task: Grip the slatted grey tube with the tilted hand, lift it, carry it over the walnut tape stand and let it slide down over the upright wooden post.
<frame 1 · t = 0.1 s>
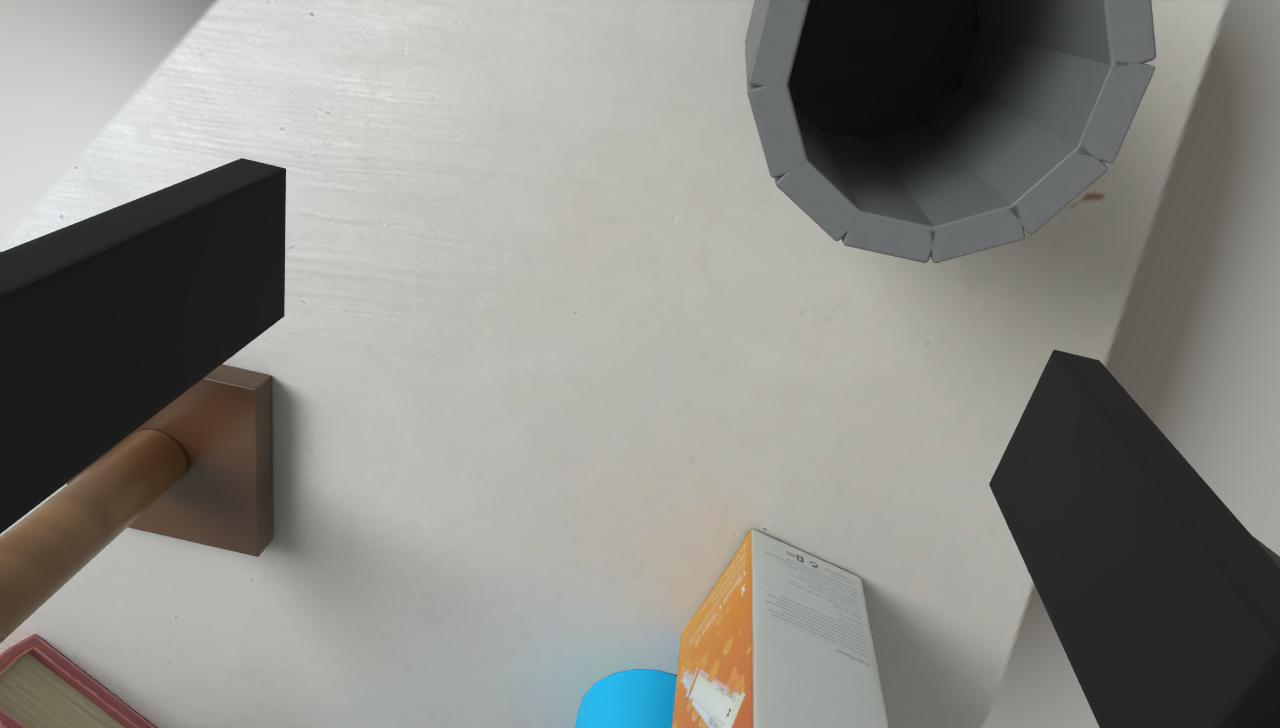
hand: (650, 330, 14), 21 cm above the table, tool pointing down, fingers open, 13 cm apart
tape stand: (176, 440, 42), on the table
slatted grey tube: (874, 37, 31), on the table
small box: (767, 602, 43), on the table
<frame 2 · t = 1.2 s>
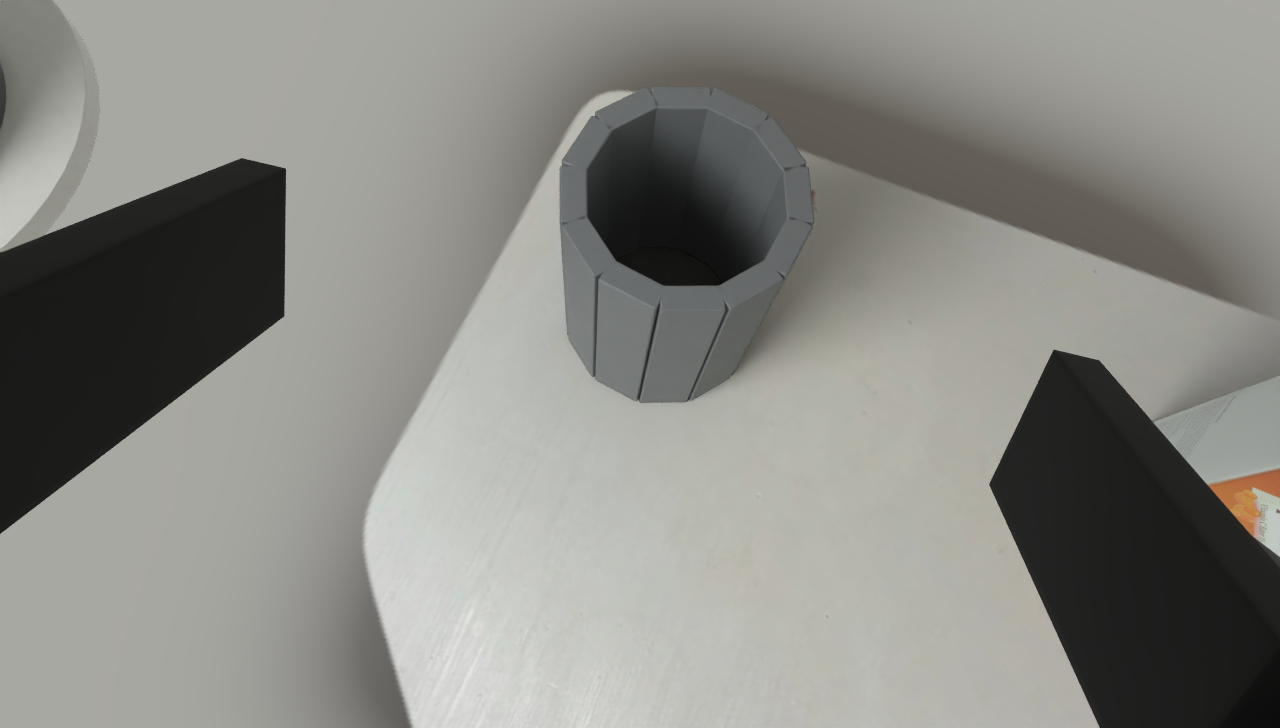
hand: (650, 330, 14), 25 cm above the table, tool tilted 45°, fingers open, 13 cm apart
slatted grey tube: (659, 313, 42), on the table
small box: (1183, 523, 40), on the table
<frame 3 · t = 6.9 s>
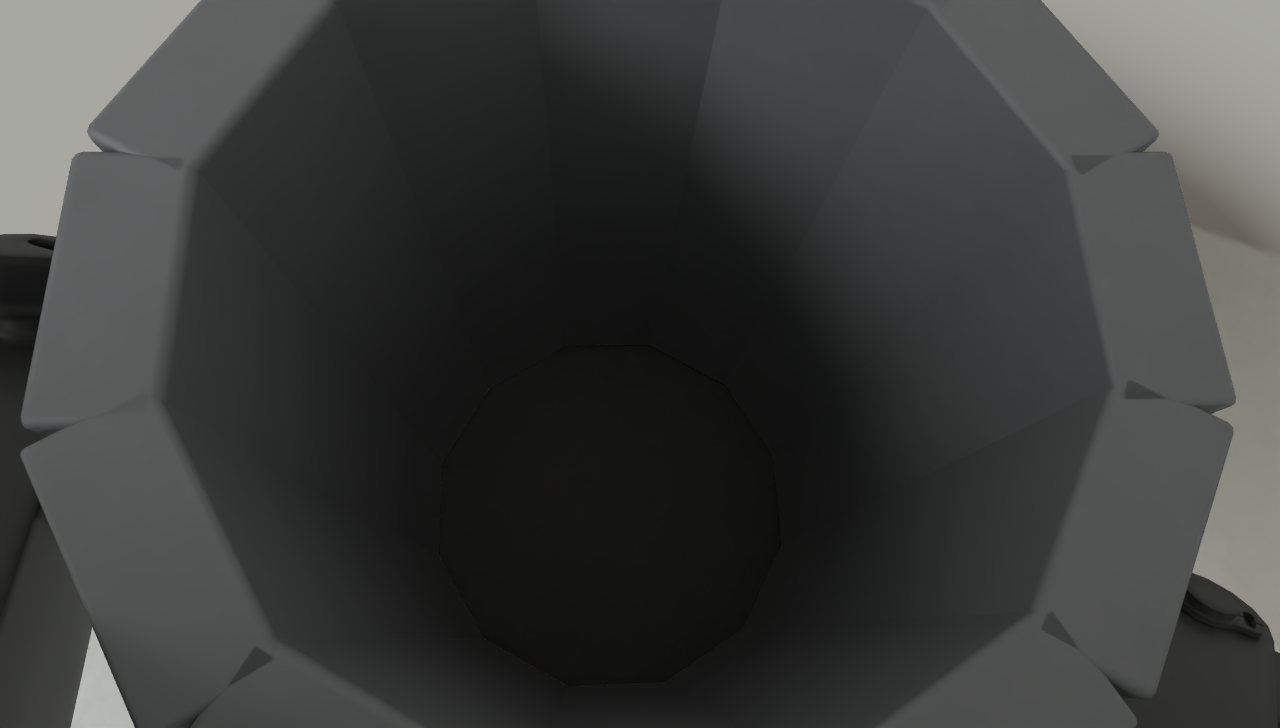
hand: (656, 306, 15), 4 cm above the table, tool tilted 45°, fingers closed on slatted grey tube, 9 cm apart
slatted grey tube: (611, 504, 18), on the table, touching gripper
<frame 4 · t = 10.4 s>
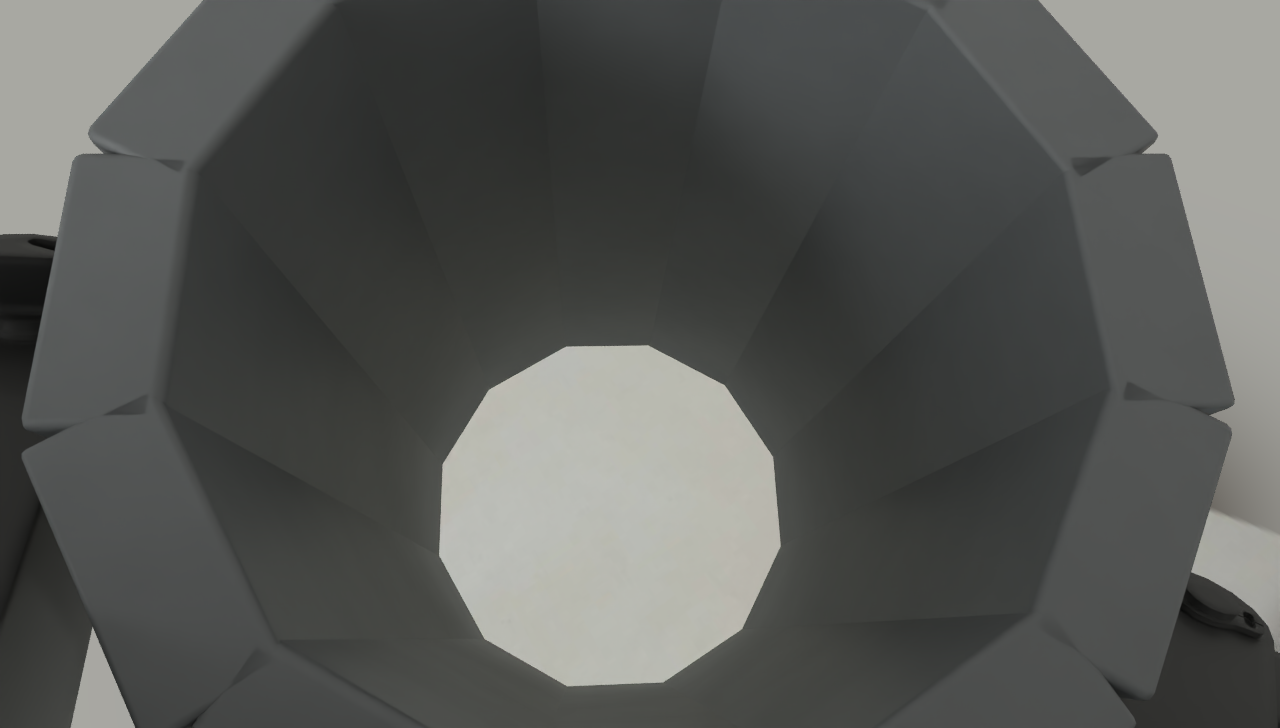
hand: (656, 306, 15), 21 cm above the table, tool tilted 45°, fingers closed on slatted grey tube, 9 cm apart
slatted grey tube: (611, 505, 18), point 17 cm above the table, touching gripper
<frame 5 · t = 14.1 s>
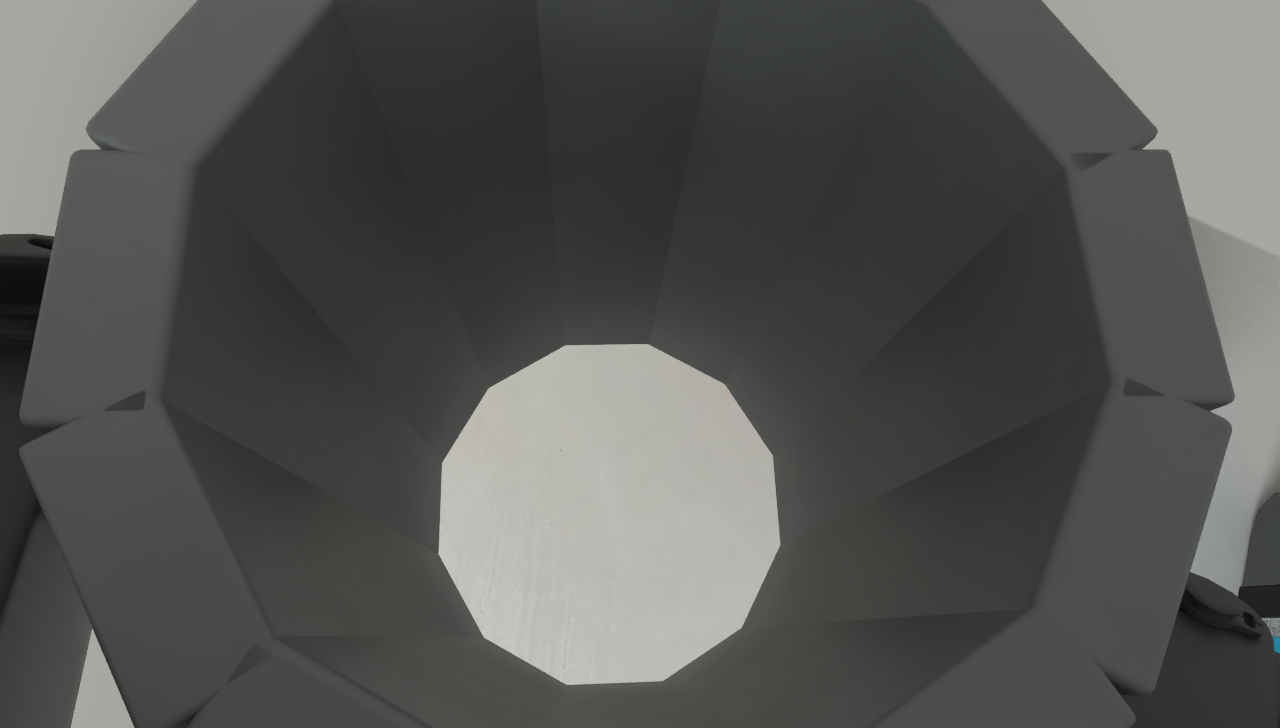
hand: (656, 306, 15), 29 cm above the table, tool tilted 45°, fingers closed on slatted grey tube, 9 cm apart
handheld gaming console: (1235, 717, 42), on the table
slatted grey tube: (610, 504, 18), point 25 cm above the table, touching gripper
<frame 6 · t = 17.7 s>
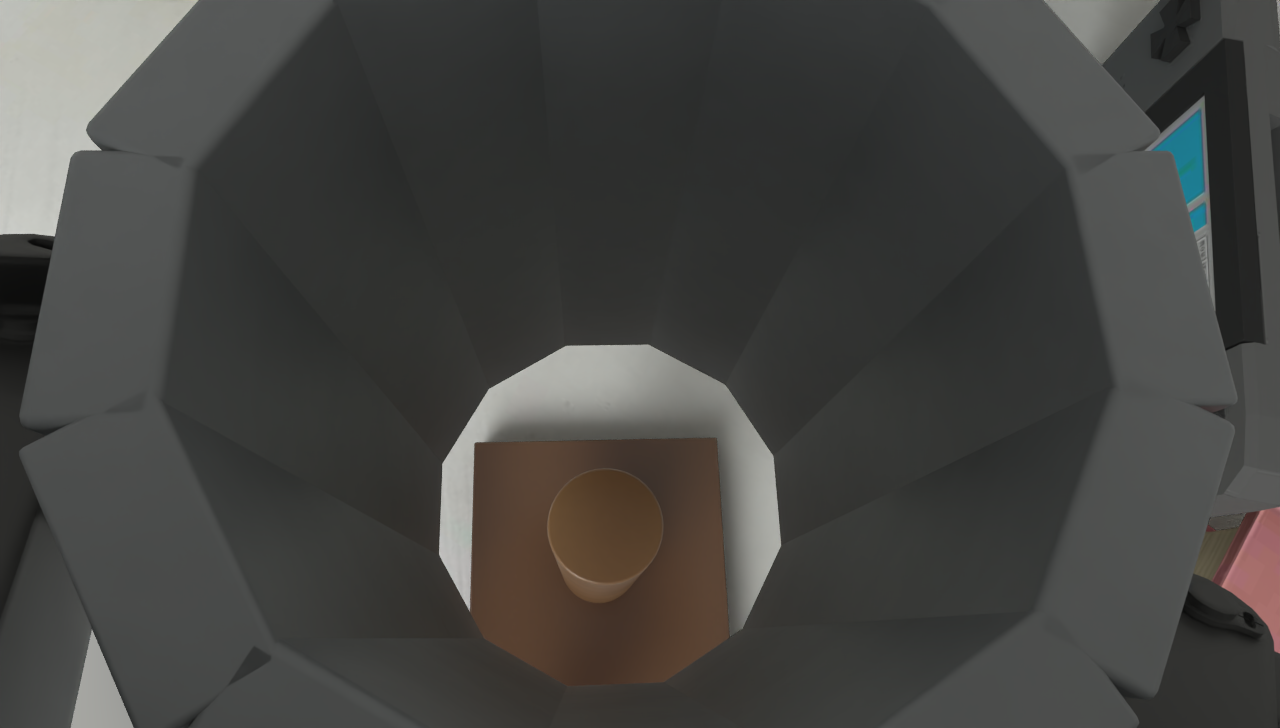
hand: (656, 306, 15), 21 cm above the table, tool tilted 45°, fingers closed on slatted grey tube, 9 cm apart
tape stand: (598, 566, 34), on the table
handheld gaming console: (1097, 293, 40), on the table
slatted grey tube: (611, 504, 18), point 17 cm above the table, touching gripper
when the fingers open (11 cm above the table, at t = 21.1 s): slatted grey tube drops 5 cm, resting on tape stand.
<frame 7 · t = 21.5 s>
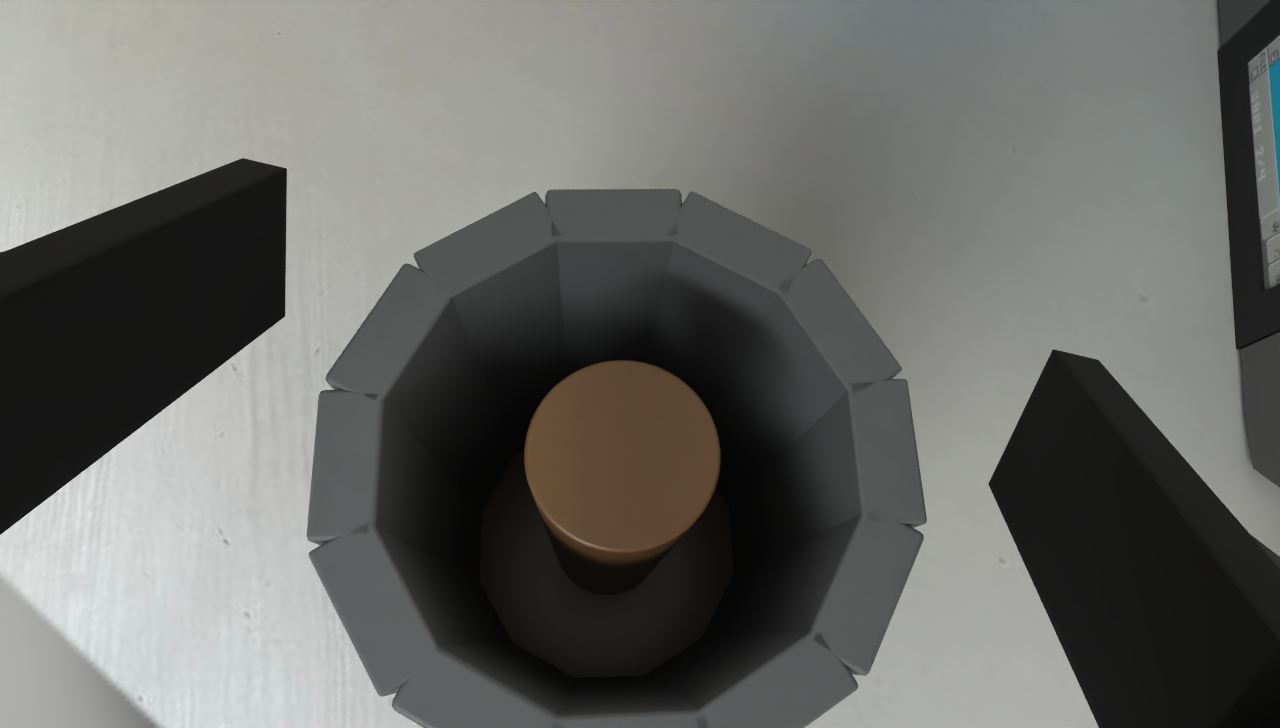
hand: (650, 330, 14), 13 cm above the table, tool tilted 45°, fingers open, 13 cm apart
tape stand: (606, 546, 26), on the table
handheld gaming console: (1248, 197, 31), on the table
slatted grey tube: (607, 543, 24), point 1 cm above the table, touching tape stand
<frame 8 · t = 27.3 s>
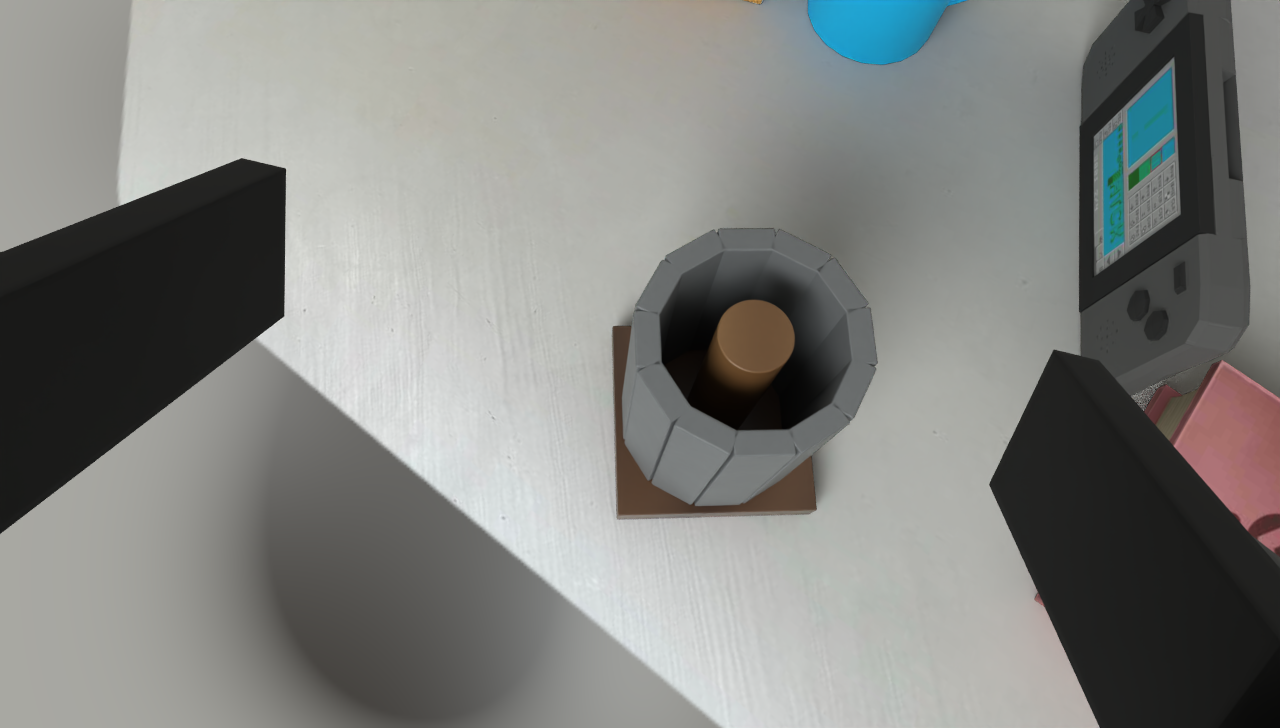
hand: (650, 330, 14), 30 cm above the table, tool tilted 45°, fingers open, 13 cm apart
book: (1212, 581, 44), on the table
mug: (897, 12, 54), on the table
tape stand: (708, 422, 45), on the table
handheld gaming console: (1093, 220, 50), on the table
slatted grey tube: (711, 416, 43), point 1 cm above the table, touching tape stand
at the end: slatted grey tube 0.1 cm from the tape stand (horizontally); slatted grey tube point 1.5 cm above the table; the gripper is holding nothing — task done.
